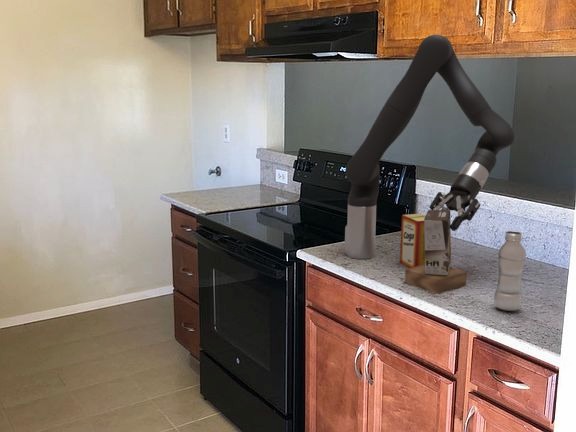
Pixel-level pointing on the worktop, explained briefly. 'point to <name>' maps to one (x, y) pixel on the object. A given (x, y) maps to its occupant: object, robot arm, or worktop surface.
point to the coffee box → (437, 242)
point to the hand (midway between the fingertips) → (441, 226)
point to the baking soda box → (412, 240)
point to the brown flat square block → (435, 279)
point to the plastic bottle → (510, 273)
